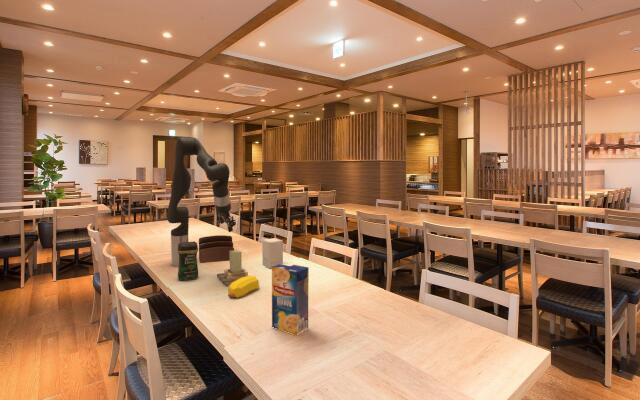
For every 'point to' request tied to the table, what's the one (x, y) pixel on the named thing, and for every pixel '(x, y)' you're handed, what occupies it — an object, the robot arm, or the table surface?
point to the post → (235, 261)
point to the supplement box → (272, 252)
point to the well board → (231, 276)
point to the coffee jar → (187, 261)
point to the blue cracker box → (290, 297)
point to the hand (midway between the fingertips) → (226, 227)
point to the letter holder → (215, 248)
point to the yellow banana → (243, 286)
